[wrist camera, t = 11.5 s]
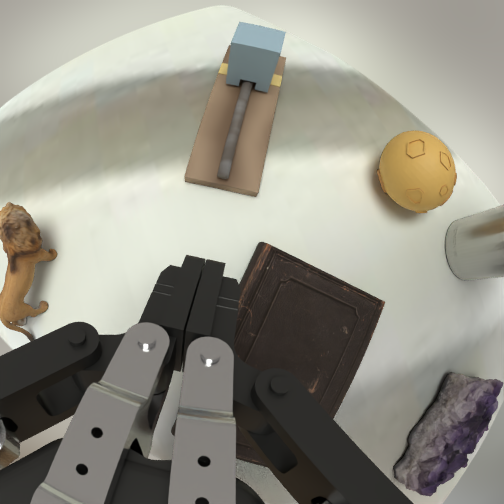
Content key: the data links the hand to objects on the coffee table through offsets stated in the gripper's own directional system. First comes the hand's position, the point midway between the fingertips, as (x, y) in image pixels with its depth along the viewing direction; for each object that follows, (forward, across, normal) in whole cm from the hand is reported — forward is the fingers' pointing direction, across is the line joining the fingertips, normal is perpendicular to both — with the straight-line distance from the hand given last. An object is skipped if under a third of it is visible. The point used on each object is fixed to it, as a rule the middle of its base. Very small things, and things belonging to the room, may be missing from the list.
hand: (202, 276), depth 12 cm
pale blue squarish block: (+31, +2, -7) cm, 31 cm away
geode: (+6, -36, +26) cm, 45 cm away
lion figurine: (+12, +21, +16) cm, 29 cm away
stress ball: (+28, -20, +1) cm, 34 cm away
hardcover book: (+10, -9, +20) cm, 24 cm away
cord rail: (+29, +2, -2) cm, 29 cm away
